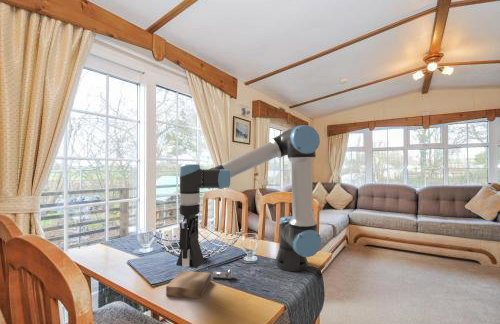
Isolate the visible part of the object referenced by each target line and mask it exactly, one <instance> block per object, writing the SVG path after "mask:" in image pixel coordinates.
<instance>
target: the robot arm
mask: <svg viewBox="0 0 500 324" xmlns="http://www.w3.org/2000/svg"><path fill="white" fill-rule="evenodd" d="M320 142H321V137H320V134H319V132H318V131H317V130H316V129H315V128H314V127H312V126H311V125H307V124H306V125H305V124H303V125H297V126H295V127H292V128H289V129H287V130H285V131H284V132H282V133H281V134H279V135H277V136H276V137H273V138H271V139H270V141H269V142H267V143H265V144H263V145H261V146H259V147H256V148H254V149H252V150H249V151H247V152H245V153H243V154H241V155H238V156H235V158H231V159H229V160H227V161H225V162H223V163H221V164H219V165H216V166H214V167H210V168H208V169H204V168H203V169H202V168H201V165H200V164H199V163H198V164H197V163H196V164H194V163H193V164H192V163H189V164H187V163H185V164H181V166H180V169H179V195H178V196H179V203H180V204H179V214H180V215H181V216H183V219H182V220H183V221H182V222H179V247H178V249H179V250H180V251H181V250H182V266H181V267H186V268H190V267H189V266H190V259H191V255H190V249H189V241H190V238H189V237H190V233H191V232H192V231H193V232H195V231H196V232H197V233H198V234H199V217H200V216H199V215H200V214H199V213H200V211H201V210H200V208H201V207H200V206H201V205H200V202H201V200H200V199H201V197H200V190H201V189H221V190H222V189H228V188H230V185H231V178H234V177H236V176H237V175H240V174H243V173H245V172H247V171H249V170H251V169H253V168H255V167H258V166H260V165H262V164H264V163H266V162H269V161H272V160H273V159H275V158H278V159H279V158H282V157H284V156H287V159H288V161H290V163H291V165H290V167H291V168H290V169H291V206H292V207H291V211H292V213H291V214H292V215H291V216H289V215H288V216H282V217H280V218H279V223H278V226H279V237H278V238H279V242H278V243H279V244H278V245H279V247H278V248H279V249H278V251H277V254H276V258H275V266H276V267H277V268H278V269H280V270H283V271H286V272H302V271H304V270H306V269H307V268H308V266H309V264H308V258H310V257H313V256H315V255H316V254H318V252H320V250H321V248H322V244H323V243H322V241H323V240H322V239H323V238H322V237H321V234H320V233H318V222H317V221H316V220H315V219H314V205H313V204H314V203H313V199H314V198H313V161H314V160H315V159H316V155H317V154H316V151H317V149H318V148H319V146H320ZM193 232H192V233H193ZM198 242H200V240H199V235H198ZM191 260H192V259H191Z"/></svg>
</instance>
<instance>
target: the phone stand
mask: <svg viewBox="0 0 500 324" xmlns="http://www.w3.org/2000/svg"><path fill="white" fill-rule="evenodd" d="M192 232H193V231H192ZM192 232H191V233H190V237H189V238H190V241H189V249H190V255H191V259H190V266H189V267H188V268H192V269H197V268H199V267H200V266H201V265H202V264H203V263H205V259H204V256H203V251H202V248H201V246H200V243H199V242H200V241H199V242H198V240H199V238H198V236H199V232H198V233H197V232H196V231H195V232H193V233H192ZM176 266H178V267H183V266H182V250H180V252H179V255H178V259H177V262H176Z"/></svg>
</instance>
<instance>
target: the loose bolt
mask: <svg viewBox="0 0 500 324" xmlns="http://www.w3.org/2000/svg"><path fill="white" fill-rule="evenodd" d="M211 278H214V279H226V280H232V278H233V269H232V268H229V269H227V272H226V271H224V272H223V271H212V274H211Z"/></svg>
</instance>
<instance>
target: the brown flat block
mask: <svg viewBox="0 0 500 324" xmlns="http://www.w3.org/2000/svg"><path fill="white" fill-rule="evenodd" d="M211 278H212V274H211V272H203V271H189V270H188V271H187V270H180V271H179V272H178V273H177V274H176V275H175V277H173V278H172V279H171V280H170V281H169V283H167V285H166V286H165V294H166V297H176V298H189V299H200V298H202V296H203V294H204V293H205V291H206V290H207V288H208V287H209V284H210V283H211Z"/></svg>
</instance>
